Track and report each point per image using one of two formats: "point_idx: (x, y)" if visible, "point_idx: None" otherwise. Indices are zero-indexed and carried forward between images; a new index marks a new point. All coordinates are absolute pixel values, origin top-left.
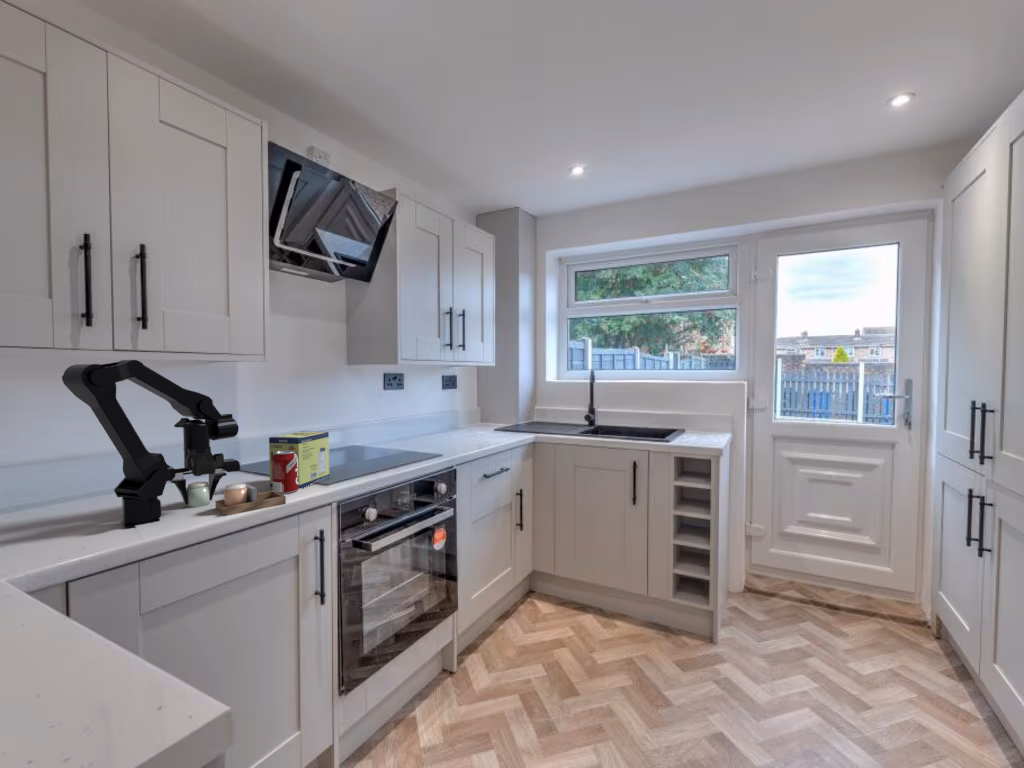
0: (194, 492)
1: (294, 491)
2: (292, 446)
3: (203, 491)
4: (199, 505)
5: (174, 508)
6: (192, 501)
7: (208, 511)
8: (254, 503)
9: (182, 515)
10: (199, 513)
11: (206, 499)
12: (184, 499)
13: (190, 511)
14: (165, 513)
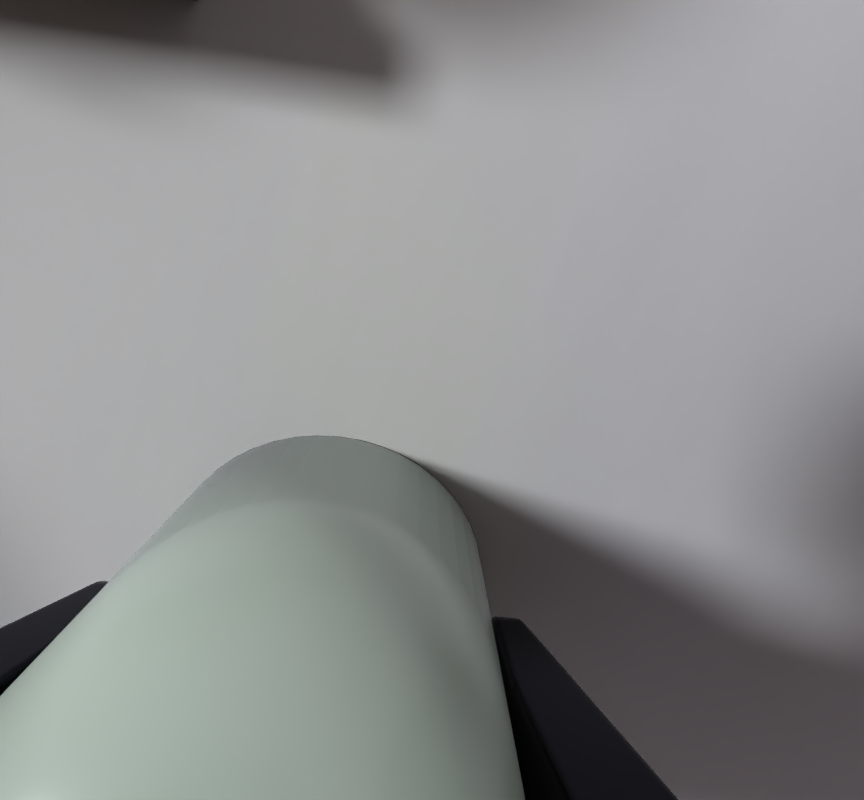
0: (425, 723)
1: None
2: None
3: (140, 661)
4: (355, 462)
5: None
6: (456, 565)
7: (326, 57)
8: None
9: (729, 197)
10: (495, 55)
11: (190, 516)
12: (582, 690)
13: (531, 363)
14: (784, 553)
